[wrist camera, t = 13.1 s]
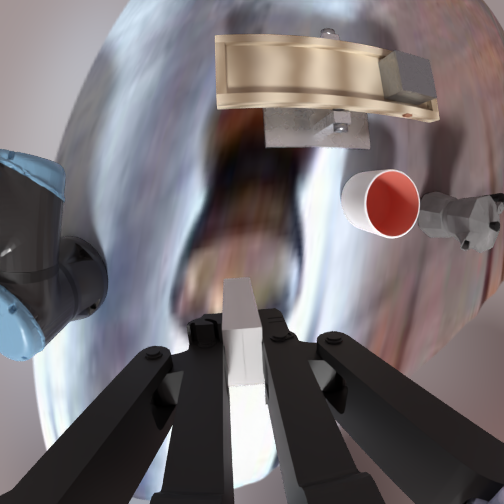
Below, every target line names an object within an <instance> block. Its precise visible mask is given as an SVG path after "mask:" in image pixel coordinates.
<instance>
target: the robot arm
mask: <svg viewBox="0 0 504 504" xmlns="http://www.w3.org/2000/svg"><path fill="white" fill-rule="evenodd" d="M65 179H66V174H65V171H64V169H63V167H62V166H61V165H59V164H58V163H56V162H54V161H51V160H48V159H45V158H41V157H38V156H34V155H30V154H25V153H21V152H14V151H9V150H5V149H0V353H1V354H3V355H4V356H6V357H8V358H10V359H12V360H15V361H26V360H28V359H30V358H32V357H33V356H34V355H35V354H36V353H38V352H40V351H42V350H43V349H44V347H45V346H46V345H47V344H48V343H49V342H50V341H51V340H52V339H53V338H54V337H55V336H56V335H57V334H58V333H59V332H60V331H61V330H62V329H63V328H64V327H65V326H66V325H67V324H68V323H69V322H70V321H75V320H79V319H84V318H87V317H89V316H90V315H92V314H93V313H94V312H95V311H96V310H97V309H98V308H99V307H100V306H101V305H102V304H103V302H104V300H105V298H106V294H107V289H108V278H107V272H106V269H105V266H104V263H103V261H102V259H101V257H100V256H99V254H98V253H97V251H96V250H95V249H94V248H93V247H92V246H91V245H90V244H89V243H87V242H86V241H84V240H82V239H80V238H77V237H73V236H66V237H61V238H60V234H61V221H62V211H63V203H64V202H65V197H64V189H65ZM187 332H188V338H189V349H188V350H187V351H185V352H182V353H178V354H174V355H171V353H170V350H169V349H167V348H166V347H162V346H151V347H148V348H146V349H143V350H142V351H140V352H139V353H138V354H137V355H136V356H135V357H134V358H133V359H132V360H131V361H130V362H129V364H128V365H127V366H126V367H125V368H124V369H123V370H122V371H121V372H120V373H119V374H118V375H117V376H116V377H115V378H114V379H113V380H112V382H111V383H110V384H109V385H108V386H107V387H106V388H105V389H104V390H103V391H102V392H101V393H100V394H99V395H98V396H97V398H96V399H95V400H94V401H93V402H92V403H91V404H90V405H89V406H88V407H87V408H86V409H85V410H84V411H83V413H82V414H81V415H80V416H79V417H78V418H77V419H76V420H75V421H74V422H73V423H72V424H71V425H70V427H69V428H68V429H67V430H66V431H65V432H64V433H63V434H62V435H61V436H60V437H59V438H58V440H57V441H56V442H55V443H54V444H53V445H52V446H51V447H50V448H49V449H48V450H47V452H46V453H45V454H44V455H43V456H42V457H41V458H40V459H39V460H38V461H37V463H36V464H35V465H34V466H33V467H32V468H31V469H30V470H29V471H28V473H27V474H26V475H25V476H24V477H23V478H22V479H21V480H20V481H19V483H18V484H17V485H16V486H15V487H14V488H13V489H12V490H11V491H9V492H7V493H5V494H3V495H1V496H0V504H128V503H129V501H130V500H131V498H132V496H133V495H134V493H135V491H136V489H137V488H138V486H139V484H140V482H141V480H142V479H143V477H144V475H145V473H146V472H147V470H148V468H149V466H150V465H151V463H152V461H153V459H154V457H155V456H156V454H157V452H158V450H159V448H160V447H161V445H162V443H163V441H164V440H165V438H166V436H167V434H168V432H169V431H170V429H171V427H172V425H173V427H172V432H171V438H170V443H169V449H168V455H167V460H166V466H165V472H164V478H163V485H162V489H161V491H160V492H157V493H154V494H153V496H152V498H151V501H150V504H234V488H233V469H232V448H231V424H230V395H229V387H232V386H246V385H257V384H265V397H266V404H268V408H269V413H270V418H271V423H272V428H273V434H274V439H275V444H276V449H277V454H278V459H279V464H280V469H281V474H282V478H283V483H284V489H285V493H286V498H287V503H288V504H385V502H384V500H383V498H382V496H381V494H380V492H379V490H378V487H377V485H376V483H375V481H374V480H373V478H372V477H371V475H370V474H368V473H367V472H363V473H361V472H359V471H358V469H357V468H356V465H355V463H354V461H353V459H352V457H351V454H350V452H349V450H348V448H347V446H346V443H345V442H344V439H343V437H342V434H341V432H340V430H339V428H338V426H337V423H336V421H337V422H338V423H339V424H340V425H341V426H342V427H343V429H344V430H345V431H346V432H347V433H348V434H349V435H350V436H351V437H352V438H353V440H354V441H355V442H356V443H357V444H358V445H359V446H360V447H361V448H362V449H363V450H364V451H365V452H366V453H367V455H368V456H369V457H370V458H371V459H372V460H373V461H374V462H375V463H376V464H377V465H378V466H379V467H380V468H381V469H382V471H383V472H384V473H385V474H386V475H387V476H388V477H389V478H390V479H391V480H392V481H393V482H394V483H395V484H396V485H397V486H398V487H399V488H400V489H401V490H402V491H403V492H404V493H405V494H406V495H407V496H408V497H409V498H410V499H411V500H412V501H413V502H414V503H415V504H504V443H503V442H501V441H500V440H498V439H496V438H495V437H494V436H492V435H491V434H489V433H488V432H486V431H485V430H483V429H482V428H480V427H479V426H477V425H476V424H474V423H473V422H471V421H470V420H469V419H467V418H466V417H464V416H463V415H461V414H460V413H458V412H457V411H455V410H454V409H452V408H451V407H449V406H448V405H447V404H445V403H444V402H442V401H441V400H439V399H438V398H436V397H435V396H434V395H432V394H431V393H429V392H428V391H426V390H425V389H423V388H422V387H421V386H419V385H418V384H416V383H415V382H413V381H412V380H411V379H409V378H408V377H406V376H405V375H403V374H402V373H401V372H399V371H398V370H396V369H395V368H393V367H392V366H391V365H389V364H388V363H386V362H385V361H383V360H382V359H381V358H379V357H378V356H376V355H375V354H374V353H372V352H371V351H369V350H368V349H366V348H365V347H364V346H362V345H361V344H359V343H358V342H357V341H355V340H354V339H352V338H351V337H350V336H348V335H346V334H344V333H341V332H337V331H334V332H333V331H330V332H326V333H323V334H321V335H319V336H318V337H317V343H309V342H302V341H299V340H298V338H297V336H296V335H295V334H294V333H293V332H290V331H289V329H288V327H287V324H286V322H285V320H284V318H283V315H282V313H281V312H280V311H279V310H277V309H276V308H273V309H261V310H258V309H257V305H256V301H255V297H254V293H253V289H252V285H251V281H250V277H245V278H231V279H224V288H223V313H217V314H204V315H203V316H202V317H201V318H198V319H195V320H192V321H191V322H189V323H188V324H187ZM264 379H265V383H264ZM334 418H335V419H334ZM335 420H336V421H335Z"/></svg>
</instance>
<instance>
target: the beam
mask: <svg viewBox="0 0 504 504" xmlns="http://www.w3.org/2000/svg"><path fill="white" fill-rule="evenodd" d="M391 52H393V51H390V50H386V49H382V48H377V47H373V46H368V45H363V44H357V43H352V42H346V41H339V40H333V39H325V38H316V37H306V36H294V35H275V34H232V35H215V60H216V93H217V109H233V108H266V107H283V108H316V109H332V110H333V111H344V110H345V111H356V112H365V113H374V114H381V115H389V116H395V117H402V118H408V119H413V120H419V121H424V122H429V123H430V122H433V121H437V120H440V119H439V112H438V105H437V99H433V100H430V101H428V102H425V103H422V104H419V105H413V104H408V103H403V102H397V101H392V100H386V99H384V95H383V88H382V82H381V76H380V71H379V65H378V62H379V61H380V60H382V59H383V58H385V57H386V56H387V55H389V54H390V53H391Z"/></svg>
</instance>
